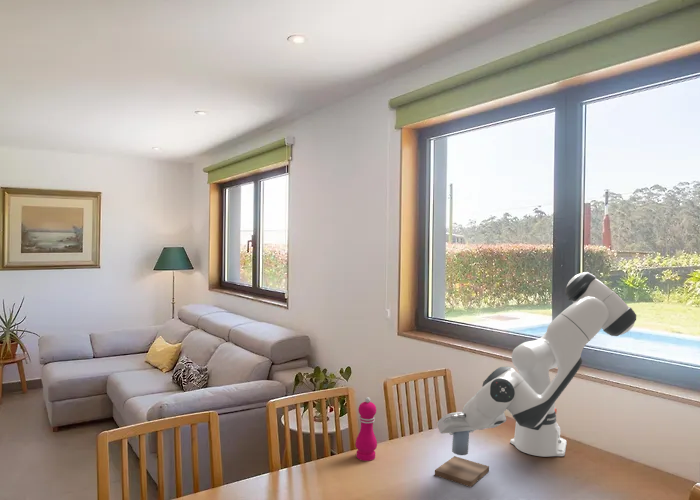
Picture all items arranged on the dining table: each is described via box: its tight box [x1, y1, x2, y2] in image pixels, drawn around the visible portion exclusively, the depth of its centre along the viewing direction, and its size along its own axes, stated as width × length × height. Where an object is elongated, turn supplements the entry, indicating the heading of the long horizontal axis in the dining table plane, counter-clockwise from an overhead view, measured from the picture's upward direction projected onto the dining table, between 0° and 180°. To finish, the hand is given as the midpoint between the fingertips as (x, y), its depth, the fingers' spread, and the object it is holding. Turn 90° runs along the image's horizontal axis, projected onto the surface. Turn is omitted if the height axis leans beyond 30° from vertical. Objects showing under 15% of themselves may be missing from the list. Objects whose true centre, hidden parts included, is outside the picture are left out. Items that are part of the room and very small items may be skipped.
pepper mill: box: [355, 396, 378, 462], centre depth 172 cm, size 7×7×20 cm
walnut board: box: [434, 455, 490, 488], centre depth 162 cm, size 14×12×2 cm
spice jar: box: [451, 431, 470, 456], centre depth 163 cm, size 5×5×11 cm
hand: (460, 431), depth 164 cm, fingers closed on spice jar, 5 cm apart
